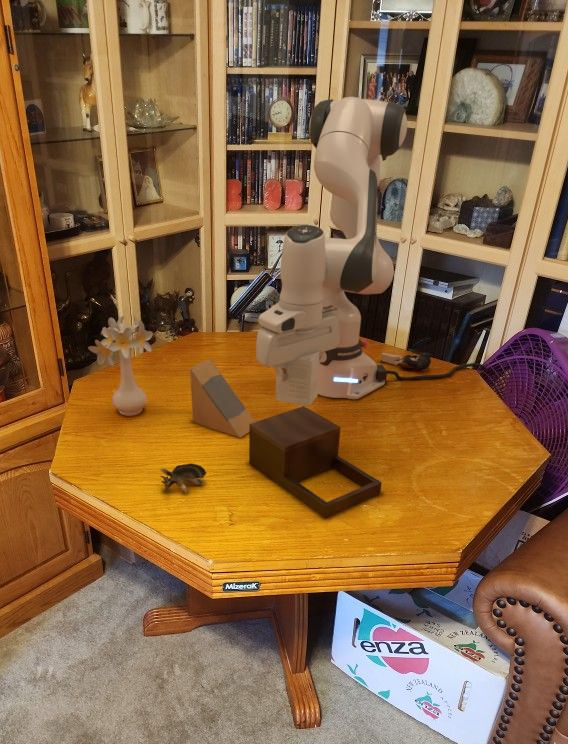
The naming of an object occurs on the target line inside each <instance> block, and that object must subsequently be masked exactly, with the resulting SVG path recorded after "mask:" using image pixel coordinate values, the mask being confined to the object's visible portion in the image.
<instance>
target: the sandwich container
mask: <svg viewBox="0 0 568 744" xmlns="http://www.w3.org/2000/svg"><path fill="white" fill-rule="evenodd" d="M189 372H190V373H189V376H190V393H191V409H192V422H193V423H195V424H198V425H201V426H203V427H206V428H209V429H212V430H215V431H218V432H222V433H224V434H228V435H231V436H234V437H237V438H242V437H243V436H245V435H247V434H249V424H251V423H254V422H256V420H255V419H254V418H253V416H252V414H251V413H250V412H249V411H248V410H247V408H246V407H245V405H244V404H243V403H242V401H241V399H239V397H238V396H237V394H236V393H235V391H234V390H233V388H232V387H231V386H230V384H229V383H228V382H227V381H226V379H225V377H224V376H223V374H222V373H221V372H220V371H219V368H218V367H217V365H216V364H215V363H214V361H213V360H212V358H208V359H206V360H204V361H202V362H199V363H197V364H196V365H194V366H192V367H190V369H189Z"/></svg>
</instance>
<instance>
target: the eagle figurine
mask: <svg viewBox="0 0 568 744" xmlns="http://www.w3.org/2000/svg"><path fill="white" fill-rule="evenodd" d="M160 472H161V473H163V474H164V475H165V476H164V475H160V476H159V477H161V478H162V479H163V480H161V481H160V483H162V484H163V485H164V491H165V492H168V491H169V490H170V488H171V487H172V486H173V485H175V484H176V486H177V487H179V488H180V489H181V490H182V491H183V492H184V494H187V487H186V485H185V482H189V483H193V484H196V485H199V486H202V485H203V484H204V482H203V481H202V480H201V479H203V478H205V476H206V475H207V471H206V469H205V468H204V467H202V465H199V464H196V463H185V464H178V465H176V466H175V467H174V468H173V469H172V471H171V470H168V469H167V468H163V467H161V468H160Z"/></svg>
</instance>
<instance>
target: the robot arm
mask: <svg viewBox="0 0 568 744" xmlns="http://www.w3.org/2000/svg"><path fill="white" fill-rule="evenodd" d="M308 132H309V139H310V143H311V144H312V146H313V147H314V148H315V154H314V160H313V161H314V162H313V169H314V174H315V176H316V179H317V180H318V183H319V184H320V185H321V186H322V187H323V188H324V189H325V190H326V191H327V192H329V193H330V194H331V201H330V208H329V209H330V210H329V217H330V221H331V222H332V225H333V226H335V228H337V229H338V230H339V231H341V232H342V233H343V234H344V236H345V238H338V237H326V236H325V232H324V230H323V229H322V228H320V227H319V226H316V225H311V224H301V225H297V226H293V227H292V228H291V227H290V229H288V230H287V231H286V232H285V236H284V239H283V243H282V250H281V258H280V259H281V260H280V275H279V276H280V282H281V290H280V292H279V293H280V294H279V301H277V302H276V303H275V304H274V305H273V306H271V307H270V308H268V309H267V310H266V311H264V312H262V313H261V314H260V315H259V316H258V325H260V326H261V327H260V328H259V330H258V332H257V335H256V344H255V359H256V361H257V363H259V364H260V365H261V366H264V367H266V368H273V369H274V371H275V374H276V373H277V378H276V377H275V380H276V379H277V381H279V382H284V381H287V373H284V372H283V371H282V369H281V368H283V367H284V363H286V362H290V361H293V360H296V359H298V358H300V357H303V356H306V355H310V354H313V353H317V352H319V374H318V392H317V395H319V396H321V397H325V398H331V399H348V400H359V399H360V398H362V397H364V396H366V395H368V394H370V393H372V392H373V391H375V390H377V389H379V388H381V387H382V386H385V384H386V382H385V381H386V380H387V376H388V375H394V376H395V378H396V379H397V380H399V381H416V380H423V379H424V380H425V379H442V378H447V377H450V376H452V375H453V374H454V373H455V371H458V370H461V369H466V368H471V367H479V368H481V369H482V370H484V371H486V370H487V371H488V368H487V367H486V366H485V365H484V364H482V363H478V362H470V363H466V364H461V365H457V366H454V367H453V368H451V370H450V371H449V372H446V373H442V374H423V375H422V374H421V375H413V376H401V375H399V372H397V371H395V370H389V369H387V368H385V366H384V365H383V364H377V363H376V362H375V360H373V359H372V358H371V357H370V356H368V355H367V354H366V353H365V352H364V351H363V349H362V348H364V349H365V350H366V349H368V348H369V347H370V341H369V340H366V339H362V340H360V334H361V333H360V332H361V324H362V323H361V322H362V316H361V312H360V310H359V309H358V307H357V306H356V305H355V304H353V303H352V302H351V301H350V300H349V299H348V298H347V295H346V293H345V292H347V293H352V294H359V295H379V294H382V293H384V292H385V291H386V290H387V289H388V288H389V287H390V286H391V283H392V281H393V279H394V275H395V268H394V263H393V260H392V258H391V257H390V255H389V254H388V253H387V252H386V250H385V249H384V248H383V247H382V245H381V243H380V240H379V238H378V235H377V231H378V212H379V211H378V205H379V200H378V199H379V185H380V175H381V159H382V162H384V161H387V158H388V157H390V156H393V155H395V154H396V153H397V152H398V151H399V150H400V149H401V147H402V144H404V143H403V142H404V141H405V139H406V137H407V132H408V119H407V112H406V109H405V108H404V106H403V105H402V104H399V103H397V102H394V101H389V102H387V101H381V100H376V99H369V98H360V97H357V96H346V97H343V98H341V99H337V100H334V99H333V98H331V99H324V100H321V101H319V102H318V103H317V104H316V105H315V106H314V108H313V110H312V113H311V116H310V118H309V123H308Z"/></svg>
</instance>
